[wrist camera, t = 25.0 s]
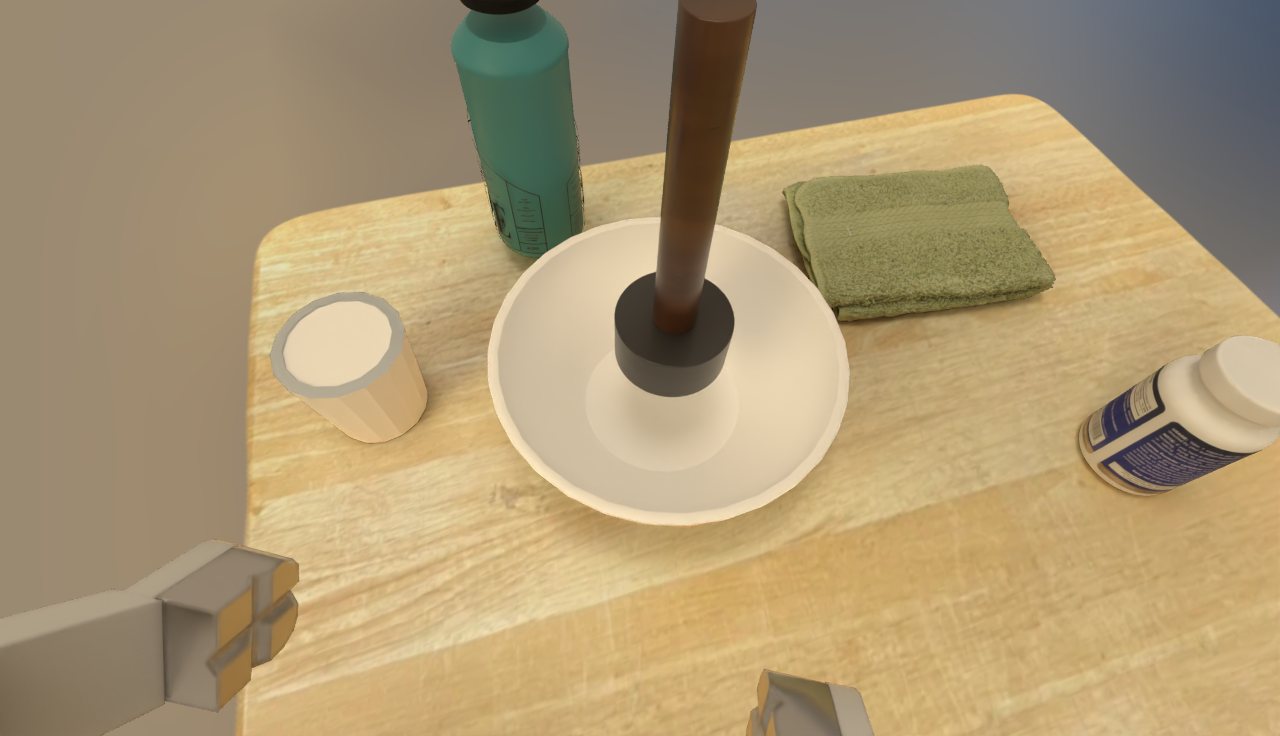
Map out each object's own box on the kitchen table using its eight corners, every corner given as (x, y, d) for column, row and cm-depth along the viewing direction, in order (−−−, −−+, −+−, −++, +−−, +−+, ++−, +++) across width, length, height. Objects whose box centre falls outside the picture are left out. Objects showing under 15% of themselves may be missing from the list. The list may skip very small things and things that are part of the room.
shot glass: (460, 386, 38) (430, 323, 32) (385, 472, 35) (337, 421, 29) (379, 340, 40) (337, 272, 34) (301, 418, 37) (239, 359, 31)
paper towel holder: (592, 338, 32) (568, -17, 17) (679, 287, 34) (728, -71, 19) (660, 418, 30) (704, 91, 14) (748, 359, 32) (870, 16, 16)
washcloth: (771, 197, 48) (780, 165, 45) (976, 185, 49) (998, 153, 47) (814, 330, 41) (828, 302, 39) (1049, 311, 43) (1079, 283, 40)
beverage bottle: (604, 239, 45) (594, -57, 28) (541, 290, 42) (488, -3, 25) (544, 198, 47) (500, -102, 30) (480, 244, 44) (393, -56, 27)
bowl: (450, 491, 35) (416, 444, 29) (579, 255, 44) (572, 183, 38) (776, 612, 32) (812, 587, 26) (837, 331, 41) (874, 266, 35)
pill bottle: (1192, 482, 36) (1368, 408, 28) (1118, 510, 35) (1278, 442, 27) (1125, 403, 39) (1266, 313, 30) (1054, 427, 38) (1181, 341, 29)
